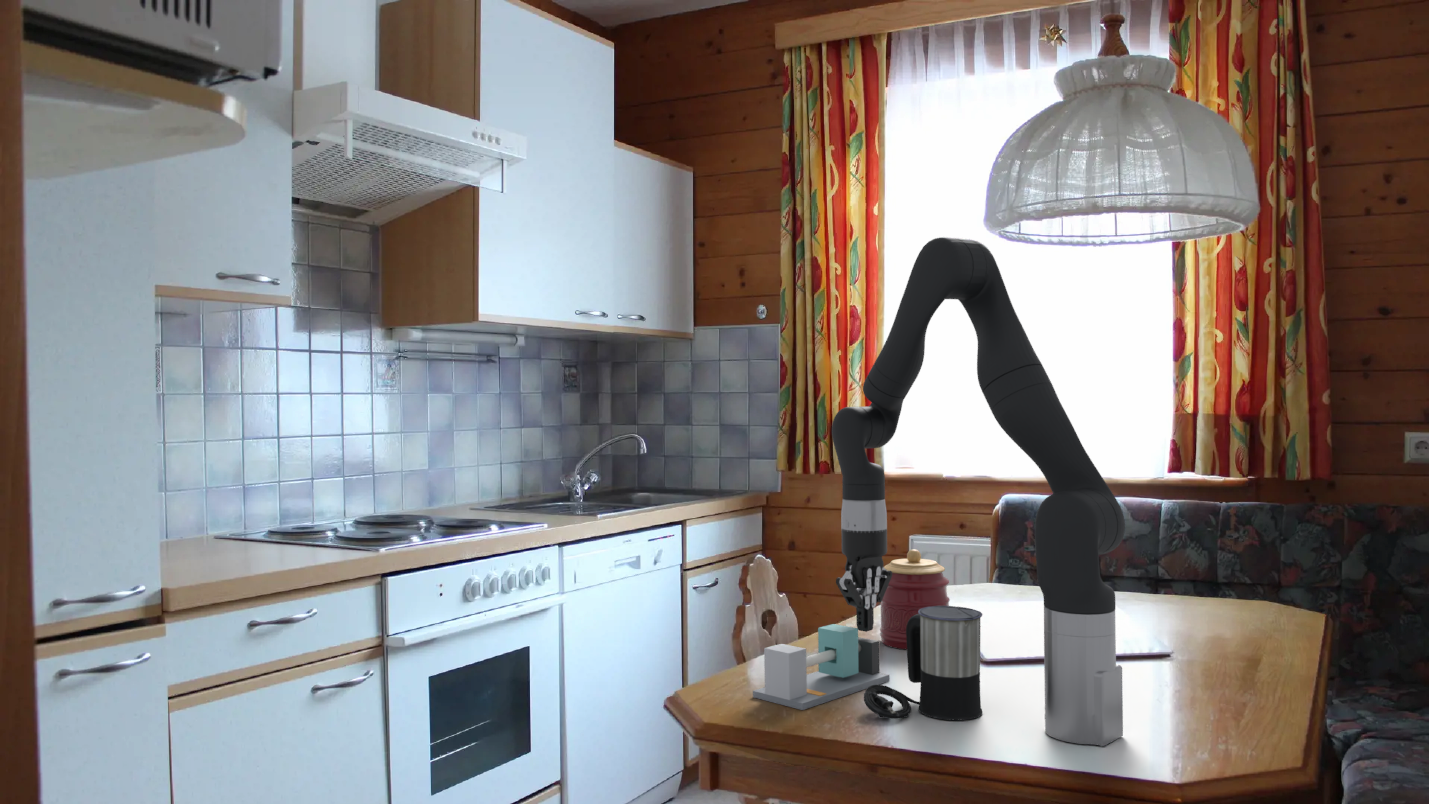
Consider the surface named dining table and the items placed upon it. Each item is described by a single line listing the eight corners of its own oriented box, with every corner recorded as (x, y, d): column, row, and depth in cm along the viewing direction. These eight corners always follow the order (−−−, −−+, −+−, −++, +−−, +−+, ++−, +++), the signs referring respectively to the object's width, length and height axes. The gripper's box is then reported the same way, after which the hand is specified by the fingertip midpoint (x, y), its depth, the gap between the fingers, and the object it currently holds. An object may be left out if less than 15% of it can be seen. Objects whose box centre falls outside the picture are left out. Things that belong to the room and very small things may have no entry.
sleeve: (858, 673, 169) (858, 628, 169) (843, 677, 166) (842, 632, 166) (834, 667, 172) (833, 624, 172) (818, 672, 169) (818, 627, 169)
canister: (931, 654, 188) (930, 556, 188) (867, 645, 195) (866, 550, 195) (961, 641, 198) (960, 547, 198) (899, 632, 206) (898, 542, 206)
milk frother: (995, 712, 153) (994, 611, 153) (932, 737, 142) (931, 628, 142) (915, 693, 163) (914, 598, 163) (851, 715, 152) (850, 613, 152)
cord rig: (889, 680, 170) (889, 631, 170) (802, 710, 155) (801, 656, 155) (840, 670, 178) (840, 623, 178) (752, 697, 162) (752, 645, 162)
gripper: (857, 532, 167) (859, 640, 167) (905, 524, 176) (907, 627, 176) (821, 528, 172) (822, 633, 172) (869, 521, 181) (870, 621, 181)
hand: (865, 630), depth 174 cm, fingers closed
